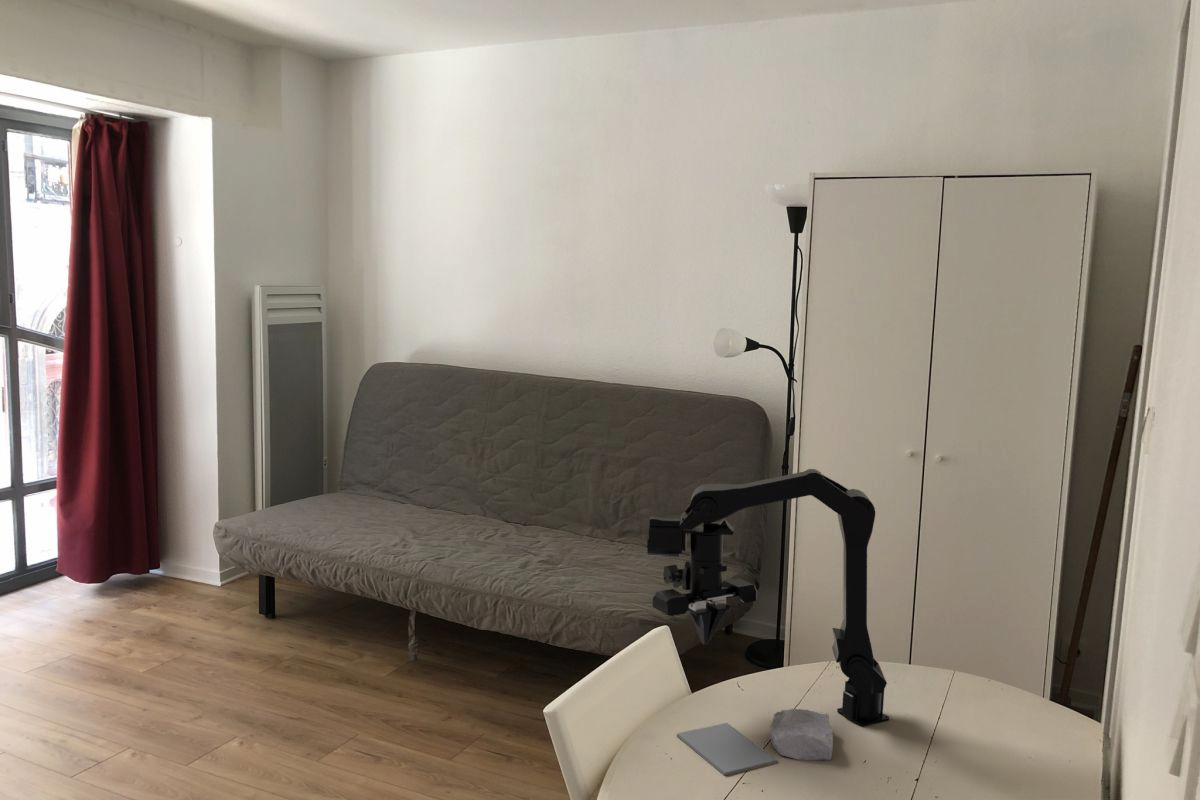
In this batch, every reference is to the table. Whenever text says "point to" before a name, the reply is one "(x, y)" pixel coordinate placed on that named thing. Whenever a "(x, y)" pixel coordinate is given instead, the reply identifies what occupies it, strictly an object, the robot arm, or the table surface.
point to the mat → (726, 748)
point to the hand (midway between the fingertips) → (704, 643)
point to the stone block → (802, 734)
